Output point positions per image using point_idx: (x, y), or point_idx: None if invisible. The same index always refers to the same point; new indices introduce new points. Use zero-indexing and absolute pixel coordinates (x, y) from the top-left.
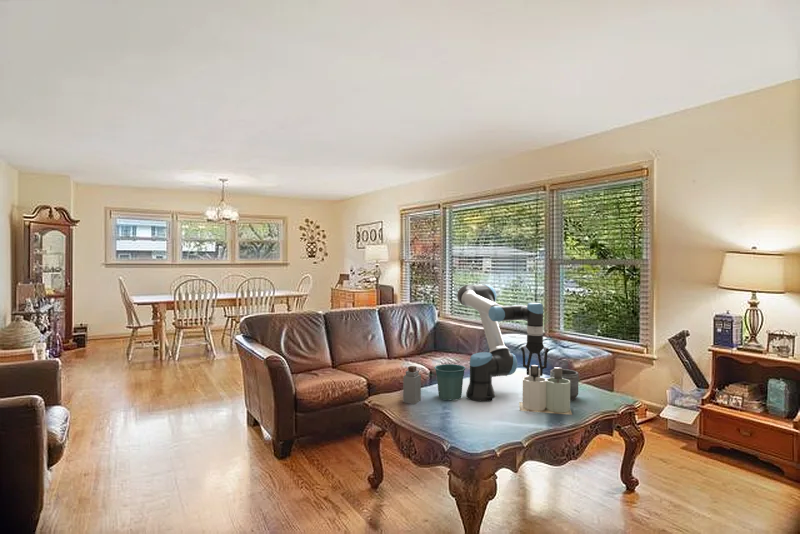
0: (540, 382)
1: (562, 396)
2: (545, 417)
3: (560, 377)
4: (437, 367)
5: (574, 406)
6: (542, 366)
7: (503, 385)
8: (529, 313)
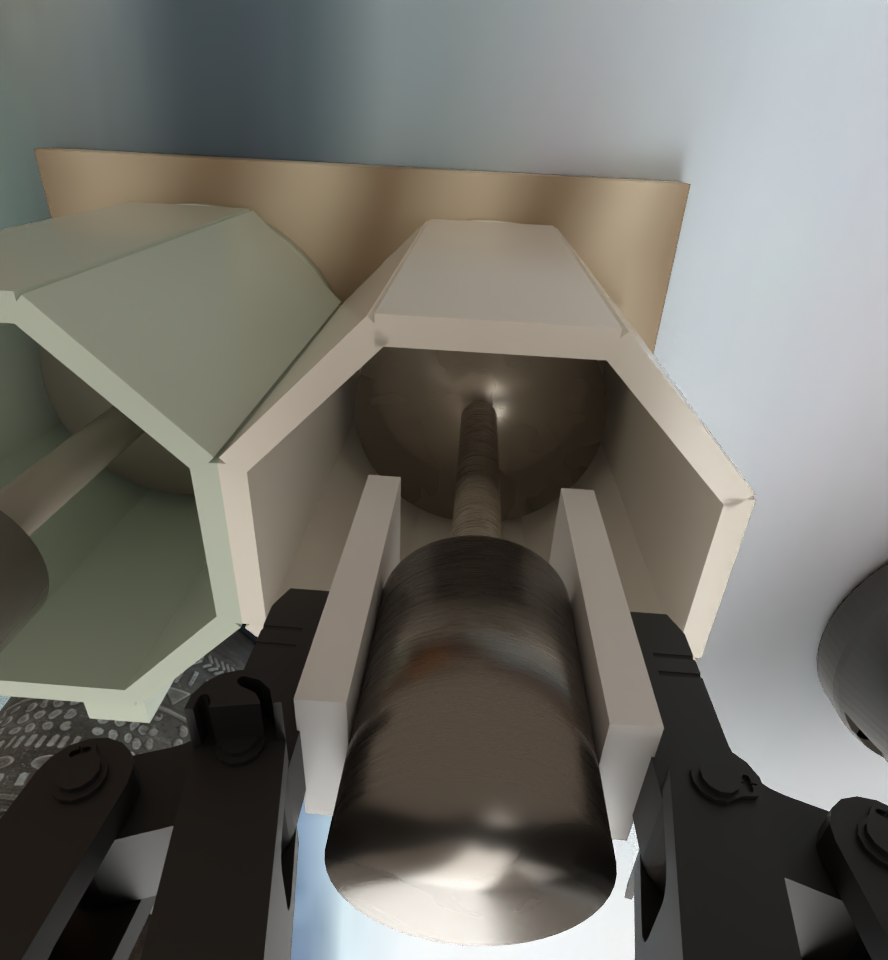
0: (355, 322)
1: (23, 229)
2: (369, 60)
3: None
4: None
5: None
6: (181, 824)
7: None
8: None
